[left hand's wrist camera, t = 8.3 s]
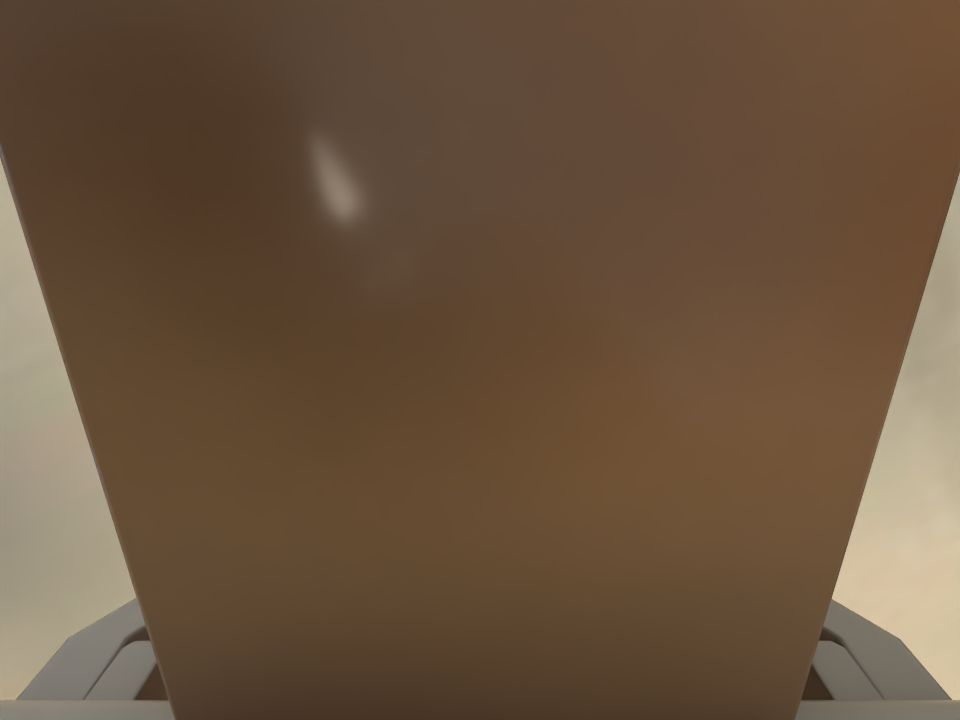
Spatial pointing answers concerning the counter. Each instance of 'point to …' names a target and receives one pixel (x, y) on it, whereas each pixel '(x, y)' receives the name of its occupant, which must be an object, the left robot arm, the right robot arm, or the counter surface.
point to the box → (482, 332)
